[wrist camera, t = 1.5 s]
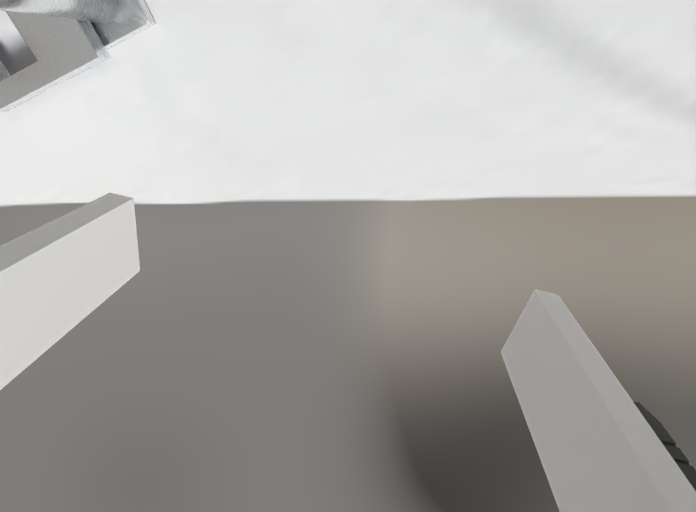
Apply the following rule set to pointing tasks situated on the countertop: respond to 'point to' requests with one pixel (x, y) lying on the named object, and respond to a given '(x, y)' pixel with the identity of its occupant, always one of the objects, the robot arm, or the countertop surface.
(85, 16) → the grey piece
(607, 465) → the robot arm
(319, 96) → the countertop surface
